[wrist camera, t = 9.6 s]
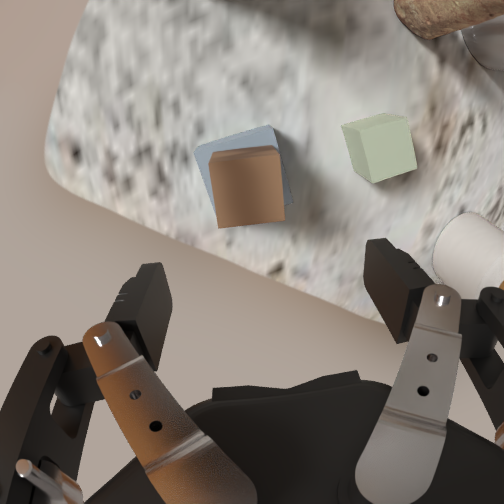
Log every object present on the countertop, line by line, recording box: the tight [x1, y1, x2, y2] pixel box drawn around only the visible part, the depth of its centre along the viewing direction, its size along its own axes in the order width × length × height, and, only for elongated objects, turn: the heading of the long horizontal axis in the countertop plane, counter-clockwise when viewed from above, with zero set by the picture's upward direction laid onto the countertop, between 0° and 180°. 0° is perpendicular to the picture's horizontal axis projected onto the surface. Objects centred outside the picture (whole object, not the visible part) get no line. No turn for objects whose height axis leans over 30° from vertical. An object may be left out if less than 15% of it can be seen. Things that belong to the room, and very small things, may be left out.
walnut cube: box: [208, 145, 285, 229], centre depth 25 cm, size 5×5×5 cm
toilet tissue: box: [433, 212, 504, 299], centre depth 31 cm, size 11×12×10 cm
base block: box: [194, 125, 293, 214], centre depth 29 cm, size 7×7×4 cm
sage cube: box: [341, 113, 418, 183], centre depth 27 cm, size 5×5×5 cm
